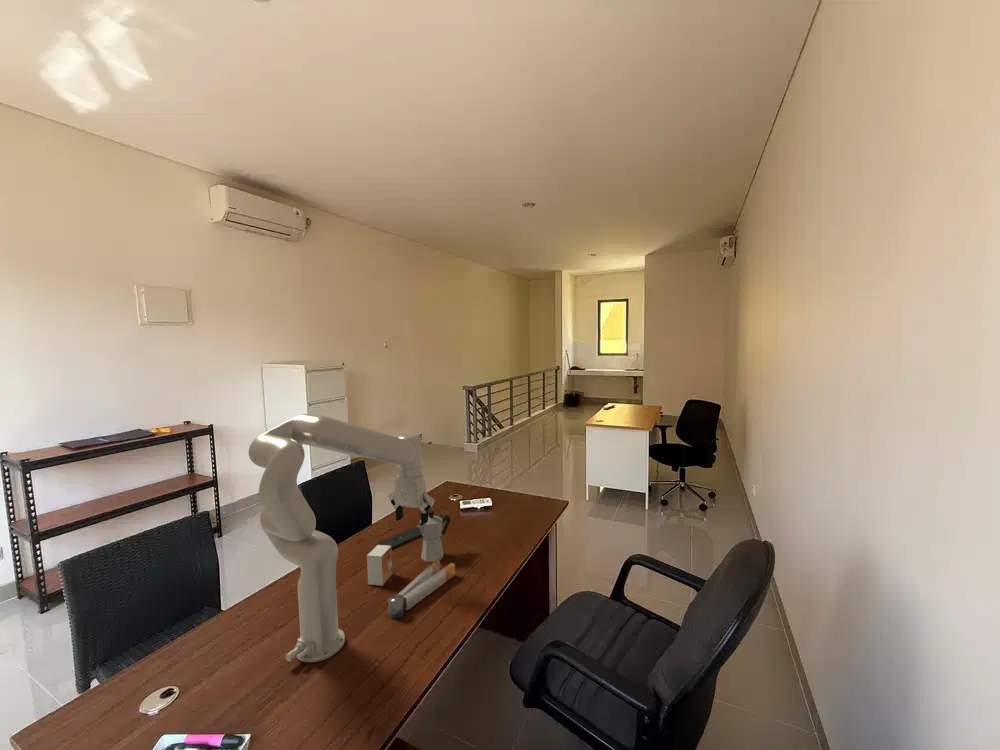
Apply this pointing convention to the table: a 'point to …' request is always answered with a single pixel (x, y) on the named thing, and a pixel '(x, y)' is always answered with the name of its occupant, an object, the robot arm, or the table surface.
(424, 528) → the coffee maker
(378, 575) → the small box
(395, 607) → the tongs hinge and fixed arm
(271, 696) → the table surface
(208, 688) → the table surface
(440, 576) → the tongs loose arm
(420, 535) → the smart home device
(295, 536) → the robot arm
